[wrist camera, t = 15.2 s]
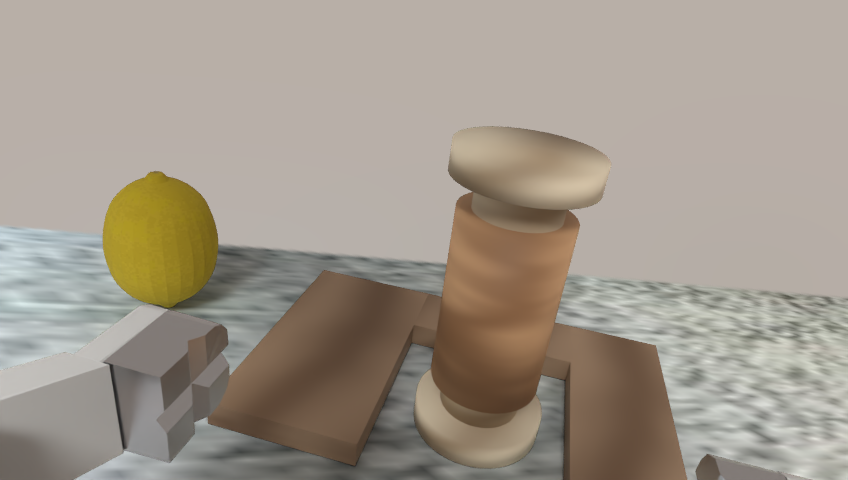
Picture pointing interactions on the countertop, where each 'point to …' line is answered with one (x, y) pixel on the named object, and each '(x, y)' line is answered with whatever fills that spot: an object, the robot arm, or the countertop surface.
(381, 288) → the notched board
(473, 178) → the bobbin
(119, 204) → the lemon
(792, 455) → the countertop surface
